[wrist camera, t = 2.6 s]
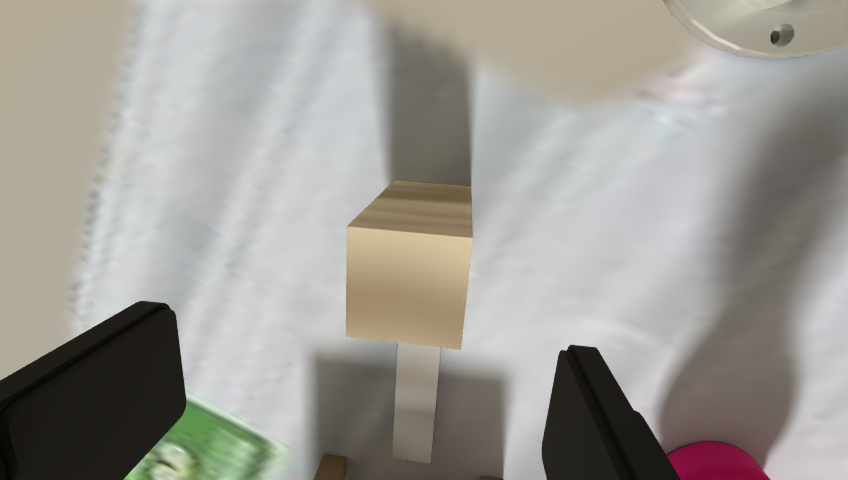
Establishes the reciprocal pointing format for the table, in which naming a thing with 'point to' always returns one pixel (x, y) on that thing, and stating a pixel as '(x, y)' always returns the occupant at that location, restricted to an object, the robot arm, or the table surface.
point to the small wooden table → (344, 469)
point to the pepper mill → (715, 463)
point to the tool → (411, 293)
